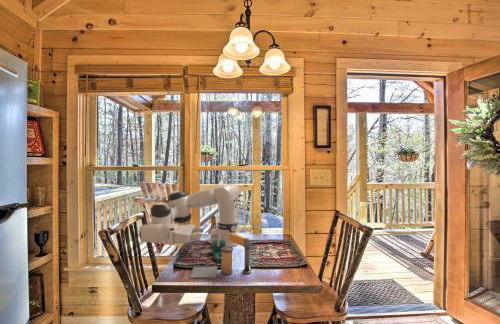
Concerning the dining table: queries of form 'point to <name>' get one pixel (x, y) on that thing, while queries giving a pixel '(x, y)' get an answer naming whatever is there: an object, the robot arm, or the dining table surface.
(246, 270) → the post
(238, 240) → the orange wooden bar
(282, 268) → the dining table surface
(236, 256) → the dining table surface
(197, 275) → the pad
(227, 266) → the cylinder
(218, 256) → the bracket
